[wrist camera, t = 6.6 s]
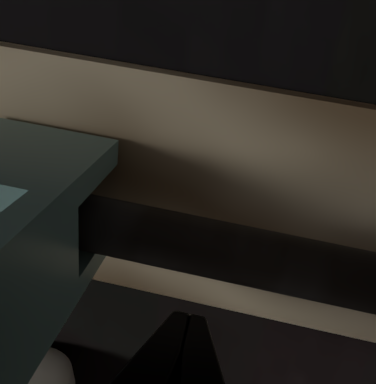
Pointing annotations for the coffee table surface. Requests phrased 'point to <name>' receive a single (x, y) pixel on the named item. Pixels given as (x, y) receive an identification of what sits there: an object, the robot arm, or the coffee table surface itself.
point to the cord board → (217, 186)
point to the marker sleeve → (43, 236)
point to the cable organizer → (54, 369)
